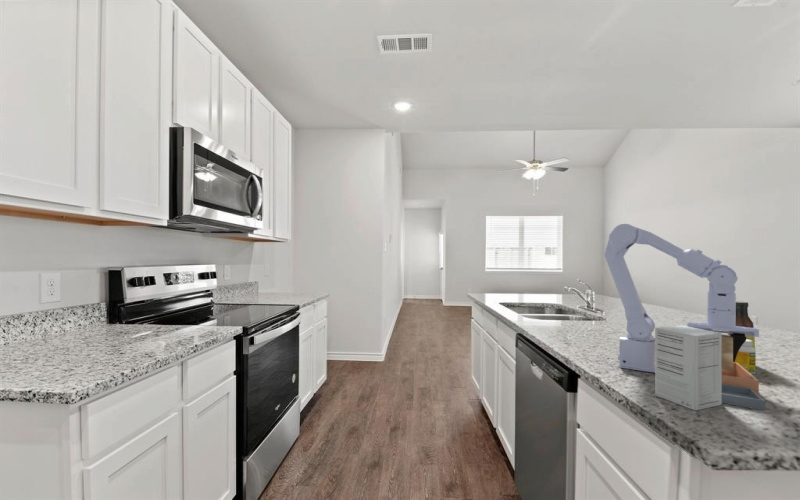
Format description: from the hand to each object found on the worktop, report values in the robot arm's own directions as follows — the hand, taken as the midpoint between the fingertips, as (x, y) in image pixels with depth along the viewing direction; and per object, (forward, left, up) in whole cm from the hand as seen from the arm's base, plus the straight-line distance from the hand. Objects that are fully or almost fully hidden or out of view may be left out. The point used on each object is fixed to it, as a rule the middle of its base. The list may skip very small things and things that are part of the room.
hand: (720, 359), depth 97 cm
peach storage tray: (0, 0, -6) cm, 6 cm away
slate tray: (0, -14, -6) cm, 15 cm away
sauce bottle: (+10, +25, -6) cm, 28 cm away
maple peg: (0, 0, -2) cm, 2 cm away
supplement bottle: (+8, +15, -6) cm, 18 cm away
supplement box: (-10, -20, -6) cm, 23 cm away
